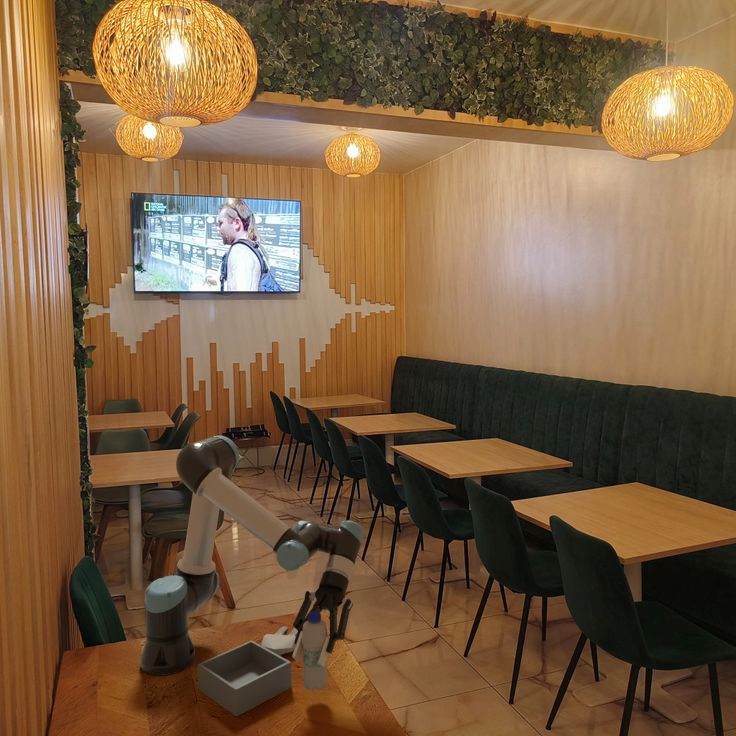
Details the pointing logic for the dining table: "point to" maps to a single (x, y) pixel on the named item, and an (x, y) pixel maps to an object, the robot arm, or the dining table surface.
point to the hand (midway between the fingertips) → (308, 661)
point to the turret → (280, 641)
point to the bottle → (313, 652)
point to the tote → (244, 677)
